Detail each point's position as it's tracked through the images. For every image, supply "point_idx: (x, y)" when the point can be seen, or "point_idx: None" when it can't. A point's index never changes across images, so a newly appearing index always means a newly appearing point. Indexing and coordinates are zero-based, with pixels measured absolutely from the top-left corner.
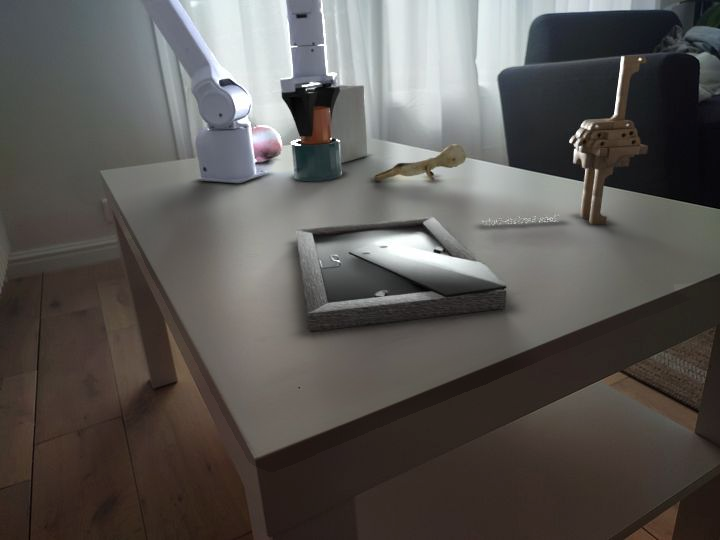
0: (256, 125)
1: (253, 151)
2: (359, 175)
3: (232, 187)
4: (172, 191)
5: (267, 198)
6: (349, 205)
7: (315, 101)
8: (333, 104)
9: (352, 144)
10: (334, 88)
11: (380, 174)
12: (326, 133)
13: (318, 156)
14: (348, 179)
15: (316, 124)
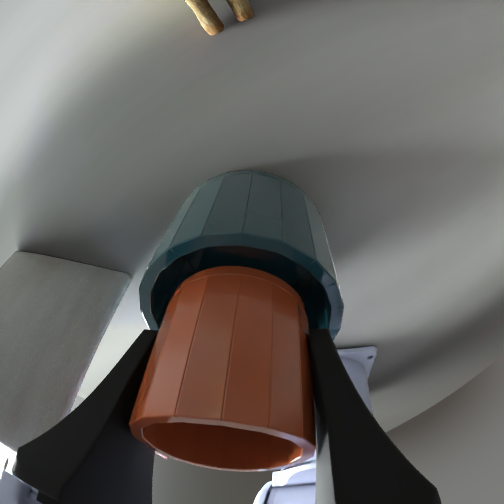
0: (167, 457)
1: None
2: (185, 121)
3: (397, 342)
4: (418, 385)
5: (481, 231)
6: (498, 16)
7: (142, 470)
8: (80, 415)
9: (34, 282)
10: (61, 496)
11: (213, 13)
12: (246, 298)
13: (319, 242)
14: (253, 123)
15: (296, 360)
